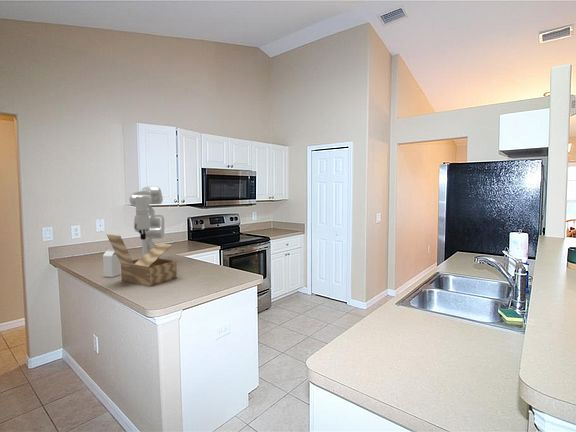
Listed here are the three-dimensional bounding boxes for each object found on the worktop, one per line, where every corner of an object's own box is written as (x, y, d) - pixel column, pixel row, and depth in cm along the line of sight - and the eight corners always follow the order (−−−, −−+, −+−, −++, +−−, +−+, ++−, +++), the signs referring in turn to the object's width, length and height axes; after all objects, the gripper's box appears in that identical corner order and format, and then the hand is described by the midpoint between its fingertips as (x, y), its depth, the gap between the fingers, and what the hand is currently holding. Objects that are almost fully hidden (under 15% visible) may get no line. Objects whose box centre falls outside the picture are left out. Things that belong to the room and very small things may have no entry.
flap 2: (158, 243, 222) (158, 243, 221) (172, 245, 215) (171, 244, 215) (134, 264, 206) (134, 264, 206) (148, 267, 199) (148, 266, 199)
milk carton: (112, 277, 221) (111, 250, 219) (103, 276, 222) (102, 250, 221) (119, 274, 228) (118, 248, 226) (111, 274, 229) (110, 248, 228)
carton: (149, 272, 233) (149, 256, 232) (176, 277, 220) (176, 260, 218) (121, 280, 214) (120, 262, 213) (149, 286, 200) (148, 267, 199)
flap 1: (107, 234, 203) (106, 234, 203) (120, 235, 197) (119, 235, 196) (121, 262, 212) (120, 262, 212) (134, 264, 206) (133, 265, 206)
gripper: (147, 212, 228) (148, 237, 230) (128, 213, 215) (129, 240, 217) (154, 212, 224) (155, 238, 226) (135, 214, 211) (136, 241, 213)
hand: (143, 239), depth 221 cm, fingers closed
